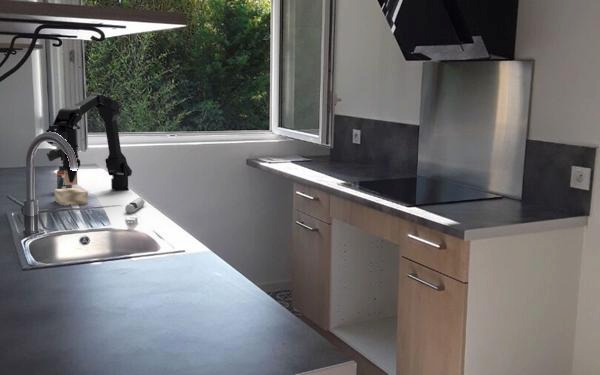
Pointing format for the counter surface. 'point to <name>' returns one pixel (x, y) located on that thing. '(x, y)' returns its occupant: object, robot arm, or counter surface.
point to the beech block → (71, 196)
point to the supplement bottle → (61, 178)
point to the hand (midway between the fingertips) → (70, 181)
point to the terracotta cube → (66, 179)
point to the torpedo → (135, 205)
